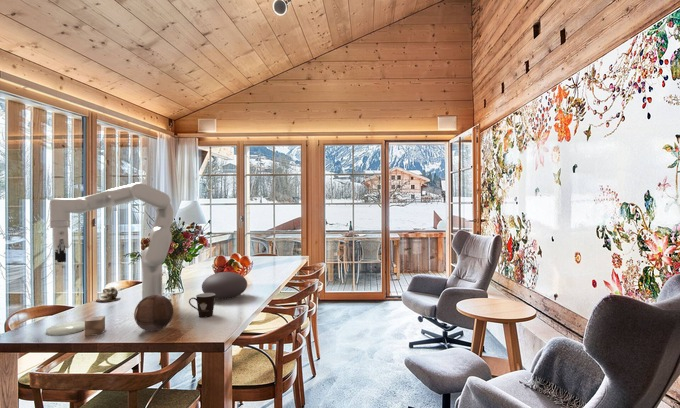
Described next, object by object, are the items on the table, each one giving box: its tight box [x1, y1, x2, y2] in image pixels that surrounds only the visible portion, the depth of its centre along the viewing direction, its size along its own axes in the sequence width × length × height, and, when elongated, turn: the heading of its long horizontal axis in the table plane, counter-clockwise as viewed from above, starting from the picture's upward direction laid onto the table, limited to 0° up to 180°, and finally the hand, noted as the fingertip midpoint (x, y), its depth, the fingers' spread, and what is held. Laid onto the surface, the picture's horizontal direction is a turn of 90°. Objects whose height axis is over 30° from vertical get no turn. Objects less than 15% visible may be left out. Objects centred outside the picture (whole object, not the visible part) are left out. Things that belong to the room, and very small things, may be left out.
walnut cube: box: [84, 315, 106, 336], centre depth 162 cm, size 6×6×6 cm
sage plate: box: [45, 321, 85, 336], centre depth 166 cm, size 15×15×1 cm
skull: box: [95, 285, 121, 302], centre depth 218 cm, size 12×10×10 cm
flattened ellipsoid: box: [201, 271, 248, 300], centre depth 220 cm, size 25×25×15 cm
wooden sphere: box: [133, 294, 174, 332], centre depth 164 cm, size 15×15×15 cm
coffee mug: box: [188, 292, 216, 319], centre depth 186 cm, size 12×9×10 cm
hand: (60, 260), depth 181 cm, fingers open, 9 cm apart
